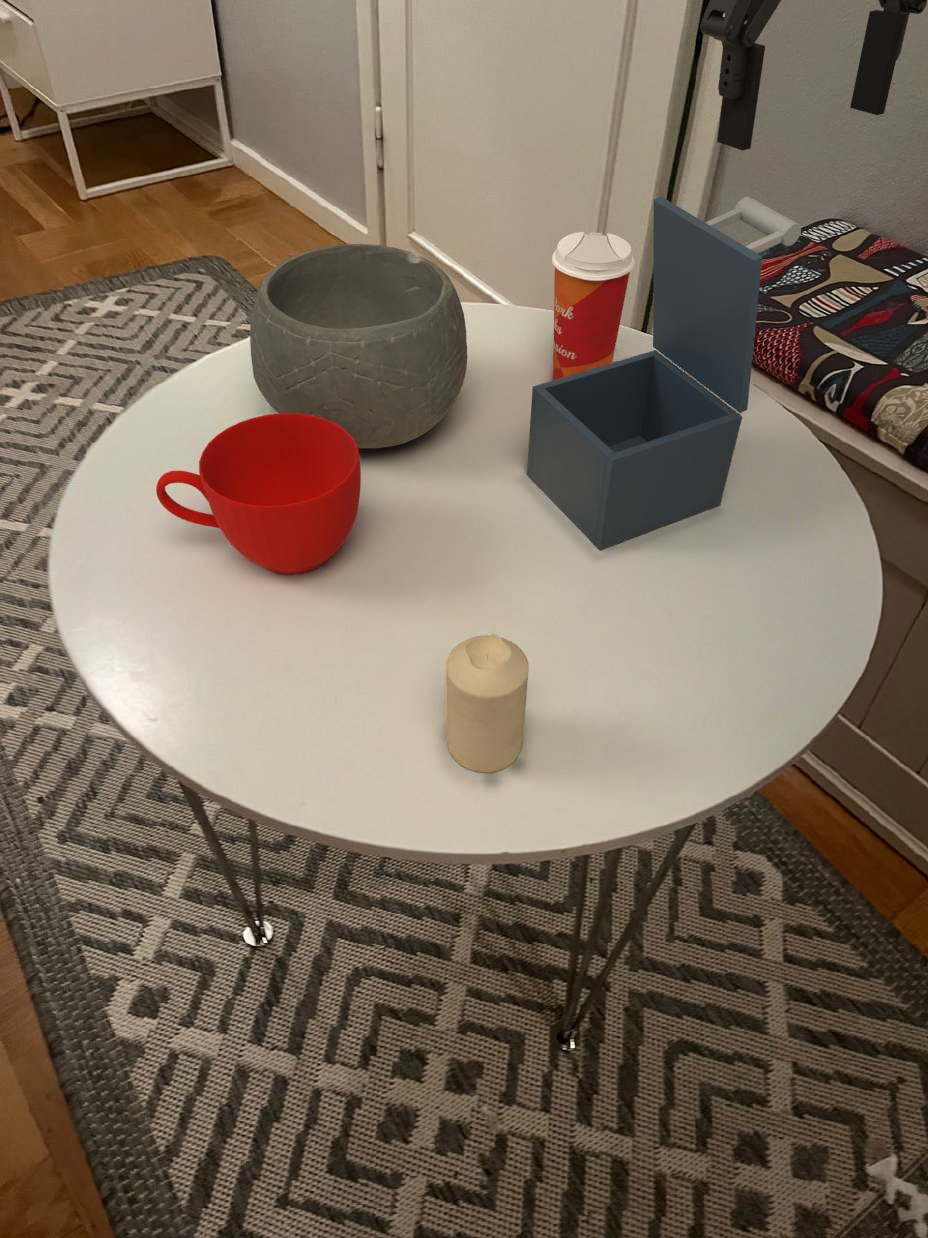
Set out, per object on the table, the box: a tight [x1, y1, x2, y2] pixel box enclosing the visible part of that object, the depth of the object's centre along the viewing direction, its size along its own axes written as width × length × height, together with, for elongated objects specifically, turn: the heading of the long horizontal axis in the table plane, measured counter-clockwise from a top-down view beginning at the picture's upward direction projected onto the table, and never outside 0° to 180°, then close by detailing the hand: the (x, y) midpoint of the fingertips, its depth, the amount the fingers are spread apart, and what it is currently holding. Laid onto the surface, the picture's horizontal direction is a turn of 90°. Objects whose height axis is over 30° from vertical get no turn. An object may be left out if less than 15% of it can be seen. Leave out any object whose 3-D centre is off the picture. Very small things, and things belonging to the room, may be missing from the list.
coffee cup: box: [551, 231, 636, 380], centre depth 99 cm, size 8×8×15 cm
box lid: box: [652, 196, 802, 414], centre depth 81 cm, size 14×13×8 cm
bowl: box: [249, 243, 468, 449], centre depth 93 cm, size 21×21×15 cm
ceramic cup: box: [155, 413, 362, 576], centre depth 81 cm, size 13×17×10 cm
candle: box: [445, 634, 529, 773], centre depth 66 cm, size 6×6×10 cm
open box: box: [526, 349, 743, 551], centre depth 87 cm, size 14×13×10 cm
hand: (802, 127), depth 72 cm, fingers open, 13 cm apart
